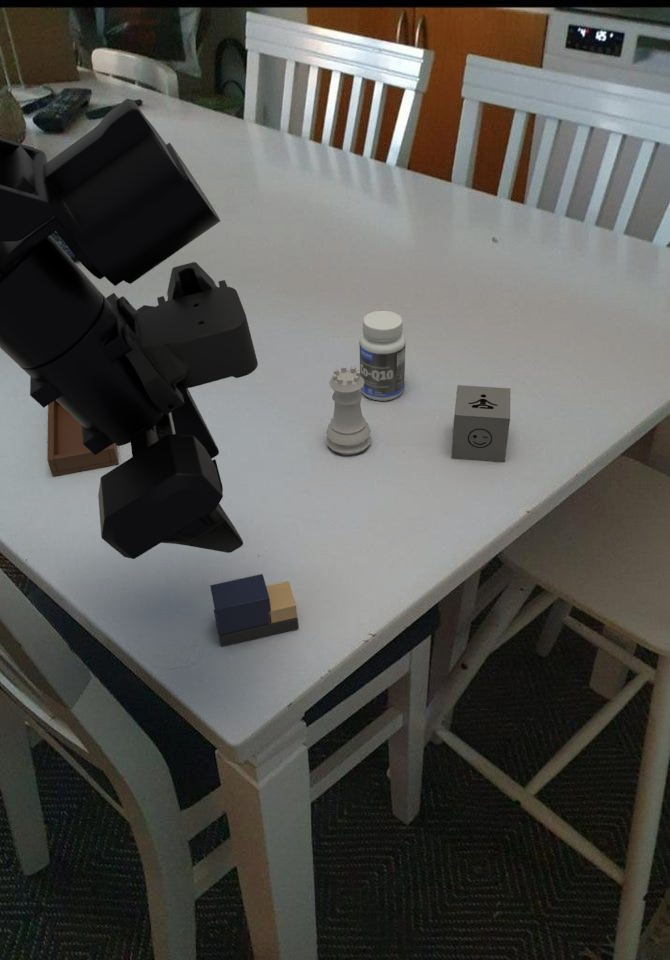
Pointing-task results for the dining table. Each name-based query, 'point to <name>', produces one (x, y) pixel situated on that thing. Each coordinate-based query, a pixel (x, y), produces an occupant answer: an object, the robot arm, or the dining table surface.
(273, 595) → the stacked boxes
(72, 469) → the tray
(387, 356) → the pill bottle
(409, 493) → the dining table surface
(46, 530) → the dining table surface
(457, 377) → the dining table surface
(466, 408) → the dice cube
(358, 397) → the rook chess piece
